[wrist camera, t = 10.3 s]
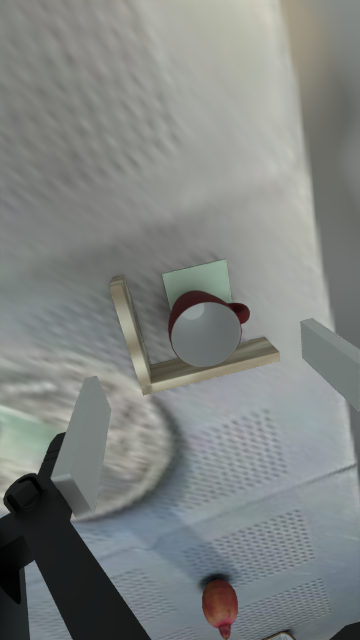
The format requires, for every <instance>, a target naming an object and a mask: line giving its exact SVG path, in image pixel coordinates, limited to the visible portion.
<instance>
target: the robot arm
mask: <svg viewBox="0 0 360 640" xmlns="http://www.w3.org/2000/svg"><path fill="white" fill-rule="evenodd" d="M300 323H301V342H302V358H303V359H304V360H305V361H306V362H307V363H308V364H309V365H310V366H311V367H312V368H314V369H315V370H316V371H317V372H318V373H319V374H320V375H321V376H322V377H323V378H324V379H325V380H326V381H327V382H328V383H329V384H330V385H331V386H332V387H333V388H334V389H335V390H337V391H338V392H339V393H340V394H341V395H342V396H343V397H344V398H345V399H346V400H347V401H348V402H349V403H350V404H351V405H352V406H353V407H354V408H355V409H356V410H357V411H359V412H360V350H359V349H358V348H356V347H355V346H353V345H352V344H350V343H349V342H347V341H346V340H344V339H343V338H341V337H340V336H338V335H337V334H335V333H334V332H332V331H331V330H329V329H328V328H326V327H325V326H323V325H322V324H320V323H319V322H317V321H316V320H314V319H313V318H311V319H307V320H303V321H300ZM110 414H111V408H110V405H109V403H108V401H107V398H106V396H105V394H104V392H103V389H102V387H101V385H100V382H99V380H98V378H97V376H94V377H90V378H86V379H84V382H83V385H82V388H81V391H80V394H79V397H78V399H77V402H76V405H75V408H74V411H73V414H72V417H71V420H70V423H69V426H68V429H67V431H66V432H64V433H60V434H57V435H56V436H55V438H54V439H53V440H52V442H51V443H50V445H49V447H48V450H47V452H46V453H47V454H46V455H45V458H44V460H43V461H44V462H43V463H42V465H41V468H40V470H39V473H38V475H37V474H35V473H29V474H27V475H24V476H22V477H21V478H19V479H17V480H16V481H15V482H14V483H13V484H12V485H11V486H10V487H9V488H8V490H7V491H6V493H5V496H4V498H3V501H4V505H5V506H6V507H7V509H8V510H9V511H10V512H11V513H9V514H7V515H6V516H4V517H2V518H0V640H30V634H29V621H28V608H27V595H26V582H25V570H24V567H25V566H26V565H28V564H29V563H31V562H32V561H34V560H35V562H36V564H37V566H38V568H39V570H40V572H41V574H42V576H43V578H44V580H45V582H46V585H47V587H48V589H49V591H50V593H51V595H52V597H53V599H54V601H55V603H56V606H57V608H58V610H59V612H60V614H61V616H62V618H63V620H64V622H65V624H66V626H67V629H68V631H69V633H70V635H71V637H72V639H73V640H151V639H150V637H149V636H148V634H147V633H146V631H145V630H144V628H143V627H142V626H141V624H140V623H139V621H138V620H137V618H136V617H135V615H134V614H133V612H132V611H131V610H130V608H129V607H128V605H127V604H126V602H125V601H124V599H123V598H122V596H121V595H120V594H119V592H118V591H117V589H116V588H115V586H114V585H113V583H112V582H111V581H110V579H109V578H108V576H107V575H106V573H105V572H104V570H103V569H102V567H101V566H100V565H99V563H98V562H97V560H96V559H95V557H94V556H93V554H92V553H91V551H90V550H89V549H88V547H87V546H86V544H85V543H84V541H83V540H82V538H81V537H80V536H79V534H78V533H77V531H76V530H75V528H74V527H73V525H72V524H71V522H70V519H71V514H72V512H73V514H74V516H75V517H76V519H77V520H78V519H82V518H85V517H89V516H92V515H95V508H96V502H97V496H98V490H99V483H100V477H101V471H102V465H103V458H104V452H105V446H106V439H107V433H108V427H109V421H110ZM330 640H360V622H357V623H353V624H350V625H346V626H345V627H344V628H342V629H341V630H340V631H339V632H338V633H337V634H336V635H334V636H333V637H332V638H331V639H330Z"/></svg>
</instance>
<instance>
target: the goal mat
mask: <svg viewBox="0 0 360 640" xmlns="http://www.w3.org/2000/svg"><path fill="white" fill-rule="evenodd" d="M162 276H163V281H164V285H165V289H166V293H167V298H168V302H169V306H170V310H172V307H173V305H174V303H175V301H176V300H177V299H178V298H179V297H180V296H181V295H182V294H184V293H186V292H189V291H194V290H199V291H204V292H207V293H209V294H212V295H214V296H216V297H218V298H220V299H222V300H223V301H225V302H226V303H232V299H231V292H230V284H229V277H228V270H227V263H226V259H223V260H219V261H215V262H211V263H206V264H202V265H198V266H194V267H189V268H185V269H181V270H177V271H172V272H168V273H164V274H162Z"/></svg>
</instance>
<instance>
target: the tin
mask: <svg viewBox="0 0 360 640" xmlns="http://www.w3.org/2000/svg"><path fill="white" fill-rule="evenodd" d="M262 640H296V639H295V638H294V637H293V636H292V635H291V634H289V633H288V632H279V633H277V634H274V635H272V636H270V637H267V638H265V639H262Z"/></svg>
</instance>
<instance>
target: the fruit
mask: <svg viewBox="0 0 360 640" xmlns="http://www.w3.org/2000/svg"><path fill="white" fill-rule="evenodd" d="M202 608H203V612H204V615H205V617H206V619H207V621H208V622H209V624H211V625H212V626H213V627H215V628H218V629H219V631H220V634H221V636H222V637H223V638H224V639H225V640H227V639H228V638H229V636H230V629H231V625H232V624H233V622H234V621H235V619H236V617H237V613H238V601H237V596H236V593H235V590H234V589H233V587H232V586H231V585H230V584H228V583H227V582H226V581H224V580H220V579H214V580H212V581H211V582H209V583H208V584H207V586H206V588H205V590H204V591H203V596H202Z"/></svg>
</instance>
